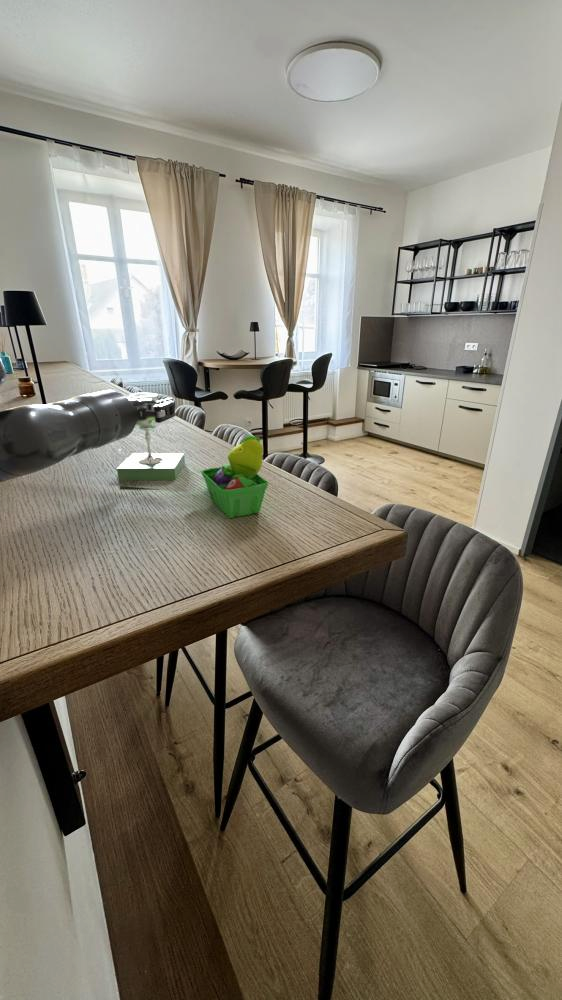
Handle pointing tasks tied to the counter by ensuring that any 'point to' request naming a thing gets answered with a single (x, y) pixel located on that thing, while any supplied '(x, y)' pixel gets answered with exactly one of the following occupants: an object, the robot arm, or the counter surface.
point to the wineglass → (147, 427)
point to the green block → (151, 468)
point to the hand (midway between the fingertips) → (152, 403)
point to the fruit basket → (238, 480)
